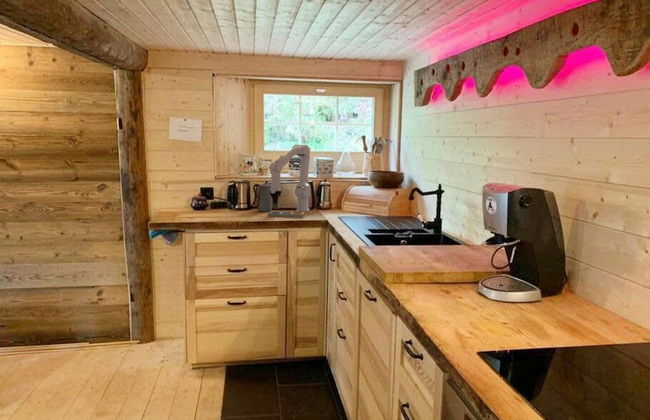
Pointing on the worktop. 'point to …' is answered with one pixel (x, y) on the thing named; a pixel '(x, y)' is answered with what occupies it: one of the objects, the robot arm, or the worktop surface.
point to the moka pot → (264, 197)
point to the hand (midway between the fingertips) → (275, 203)
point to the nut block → (275, 206)
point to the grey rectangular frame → (286, 214)
